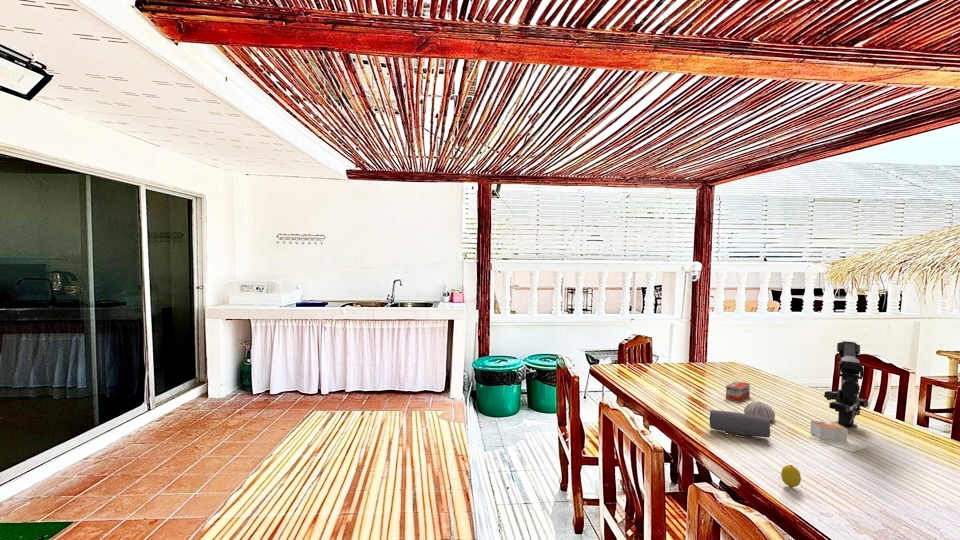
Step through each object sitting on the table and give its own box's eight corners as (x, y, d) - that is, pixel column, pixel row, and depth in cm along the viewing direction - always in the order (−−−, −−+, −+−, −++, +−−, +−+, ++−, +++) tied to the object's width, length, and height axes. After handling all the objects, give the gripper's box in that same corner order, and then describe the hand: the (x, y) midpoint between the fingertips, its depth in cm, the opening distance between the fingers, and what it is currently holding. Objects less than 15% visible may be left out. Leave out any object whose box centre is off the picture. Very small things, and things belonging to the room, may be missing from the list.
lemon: (776, 483, 149) (777, 461, 149) (791, 483, 149) (792, 460, 149) (789, 492, 143) (790, 469, 143) (804, 491, 144) (805, 468, 143)
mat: (823, 433, 193) (823, 432, 193) (866, 448, 178) (866, 447, 178) (809, 437, 189) (809, 436, 189) (852, 452, 174) (852, 451, 174)
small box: (848, 429, 183) (820, 427, 186) (847, 441, 184) (820, 439, 186) (836, 422, 191) (810, 420, 193) (835, 434, 191) (809, 432, 194)
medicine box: (734, 393, 252) (734, 380, 252) (749, 396, 246) (750, 383, 245) (725, 398, 242) (725, 384, 242) (741, 402, 236) (741, 388, 235)
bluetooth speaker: (766, 435, 190) (766, 413, 190) (770, 443, 181) (771, 421, 181) (709, 426, 200) (709, 406, 199) (710, 434, 191) (711, 412, 191)
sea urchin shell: (771, 425, 202) (771, 409, 202) (739, 417, 212) (739, 401, 212) (778, 418, 211) (779, 403, 211) (748, 411, 221) (748, 396, 221)
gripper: (840, 381, 197) (839, 414, 198) (816, 386, 190) (815, 419, 191) (869, 388, 187) (868, 422, 188) (845, 393, 180) (844, 429, 180)
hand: (848, 423), depth 187 cm, fingers closed
